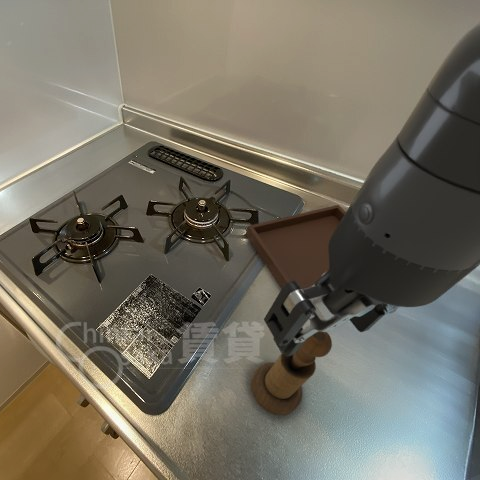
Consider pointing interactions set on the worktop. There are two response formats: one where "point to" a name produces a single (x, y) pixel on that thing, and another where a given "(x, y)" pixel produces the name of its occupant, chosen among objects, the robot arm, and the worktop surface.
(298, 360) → the mortar and pestle
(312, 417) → the worktop surface
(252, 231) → the tray
